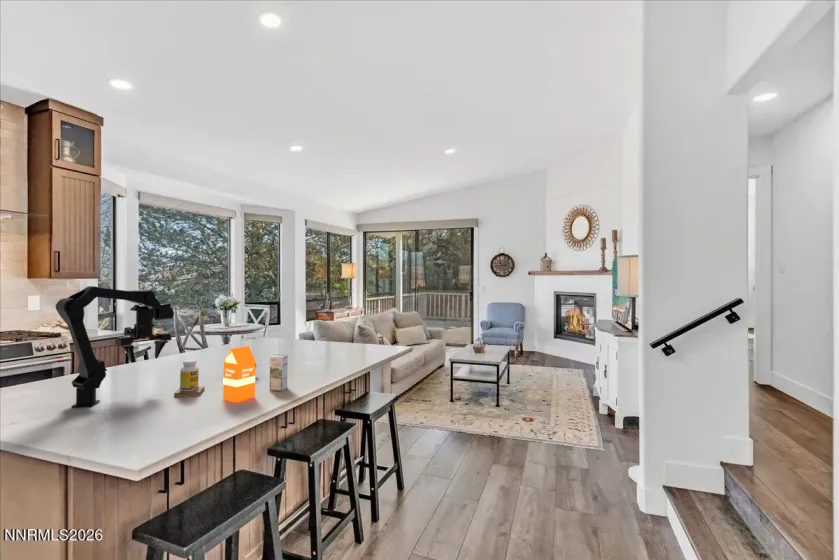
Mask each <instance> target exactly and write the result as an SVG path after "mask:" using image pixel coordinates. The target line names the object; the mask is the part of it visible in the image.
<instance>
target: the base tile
mask: <svg viewBox="0 0 839 560" xmlns="http://www.w3.org/2000/svg"><path fill="white" fill-rule="evenodd" d="M204 391H205V386H204V385H202V386H198V389H197V390H194V391H181V390H180V387H179V388H178V389H177V390H176V391H175V392H174V393H173V397H174V398H182V397H183V396H188V397H200V396H201V395H202V394H203V392H204ZM200 394H201V395H200ZM183 398H184V397H183Z"/></svg>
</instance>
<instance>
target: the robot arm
mask: <svg viewBox="0 0 839 560" xmlns="http://www.w3.org/2000/svg"><path fill="white" fill-rule="evenodd" d="M96 298H101V299H102V298H103V299H112V300H122V301H127V302H130V303H134V305H133V306H132V307H131V308H130V309H129V310H130V311H131V312H132V311H134V312H135V323H134V325H133V328H132V327H131V326H127V327H124V329H123V330H124V331H123V334H124V336H118V337H116V338H115V339H114V344H115V345H117V346H119V347H122V348H123V349H124V351H125V352H126V354H127V357H128V360H129V362H130V363H133V361H134V352H135V351H134V349H135V346H134V345H133V343H138V342H139V343H140V342H148V341H153V343H154V359H156V360H157V359H158V357H160V354H161V352H162V350H163V348H164V347H165V345H166V344H167V343H169V341H172V334H171V333H169V332H156V333H155V334H154V333H153V332H154V327H155V323H154V320H155V321H167V320H168V321H169V320H172V319H173V318H174V316H175V312H174V309H173V306H172V304H171V303H170V302H169V303H167V302H166V303H160V301H159V300H158V298H157V296H156V294H155V293H154V291H153V290H144V289H143V290H141V289H138V290H137V289H136V290H124V289H123V290H121V289H115V288H105V287H98V286H93V285H87V286H86V287H85V288H83V289H81V290H80V291H77V292H76V293H73V294H72V295H69V296H68V297H64V298H61V299H58V301H57V302H56V303H55V310H56V312H57V313H58V315H59V317H60V318H61V319H62V320H63V322H64V323H65V324H66V326H67V328H68V331H69V333H70V336H71V339H72V342H73V345H74V348H75V350H76V351H75V352H76V354H77V357H78V359H79V364H78V375H77V376H76V377H75V378H74V379H73V380H72V381H71V383H70V384H71V385H72V387H73V388H76V389H75V403H74V404H72V405H71V408H83V407H84V408H85V407H86V406H88V407H93V405H94V406H95V405H97V404H98V403H100V402H101V399H97V389H99V388H100V387H101V384H102V382H103V380H104V379H105V378H106V376H107V373H106V372H108V369H107V368H106V366H105V361H104V360H101V359H97V358H96V356H95V354H94V350H93V347H92V344H91V341H90V338H89V335H88V331H87V328H86V326H85V323H84V318H85V308H86V307H87V306H89V305H90V304H91V303H92V302H93V301H94V300H95V299H96ZM140 305H141V306H140ZM99 401H100V402H99ZM96 403H97V404H96Z"/></svg>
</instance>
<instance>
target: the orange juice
mask: <svg viewBox="0 0 839 560" xmlns="http://www.w3.org/2000/svg"><path fill="white" fill-rule="evenodd" d="M253 354H254V353H252V350H251V348H250V346H249V345H246V346H240V347H239V346H238V347H235V348H230V350H229V351H228V353H227V355H226V357H225V358H224V361H223V375H222V376H223V379H222V382H223V383H222V384H223V387H222V390H223V391H222V393H223V394H222V400H223V399H224V401H226V400H228V402H231V401H232V403H235V402H237V403H241V402H244V401H246V399H247V400H249V398H251V399H254V398H255V397H256V368H255V363H256V359H255V357H254V355H253ZM253 397H254V398H253ZM243 400H244V401H243ZM240 401H241V402H240Z"/></svg>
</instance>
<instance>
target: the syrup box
mask: <svg viewBox="0 0 839 560" xmlns="http://www.w3.org/2000/svg"><path fill="white" fill-rule="evenodd" d="M288 361H289V355H288V354H280V353H279V354H272V355H270V357H269V391H273V392H274V391H275V392H282V391H285V390H286V389H288V371H289V370H288V365H289V363H288ZM284 389H285V390H284Z"/></svg>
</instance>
